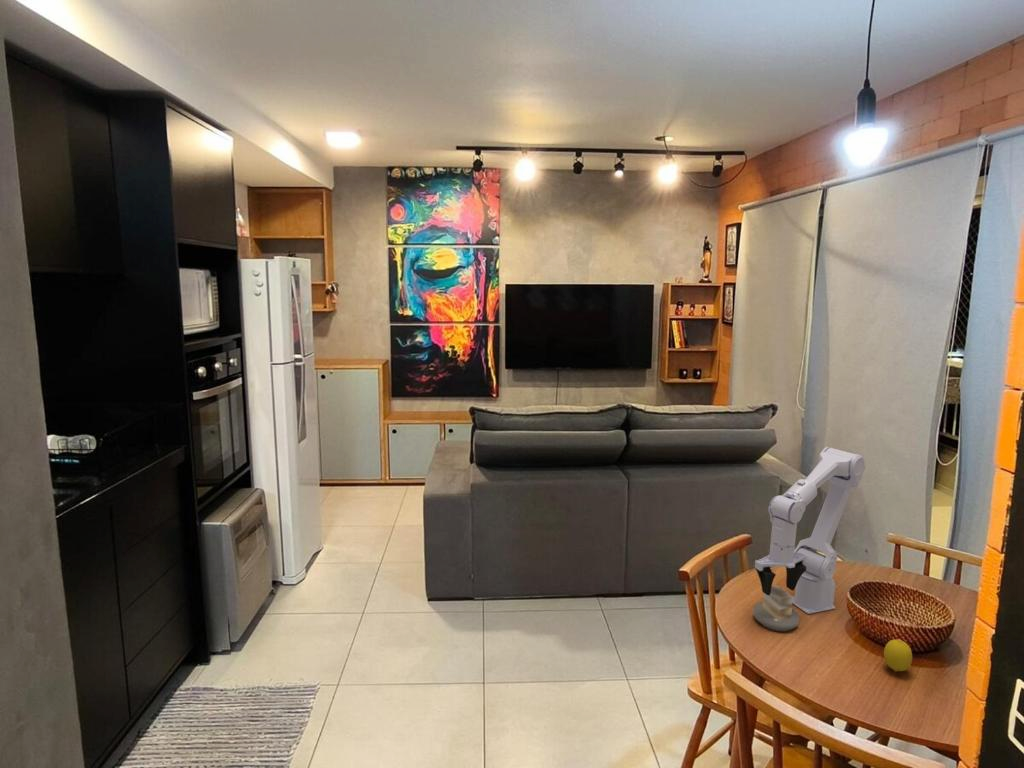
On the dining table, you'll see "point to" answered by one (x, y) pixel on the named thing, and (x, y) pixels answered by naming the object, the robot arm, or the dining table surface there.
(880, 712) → the dining table surface
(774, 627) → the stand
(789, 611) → the block
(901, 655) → the lemon
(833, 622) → the dining table surface
